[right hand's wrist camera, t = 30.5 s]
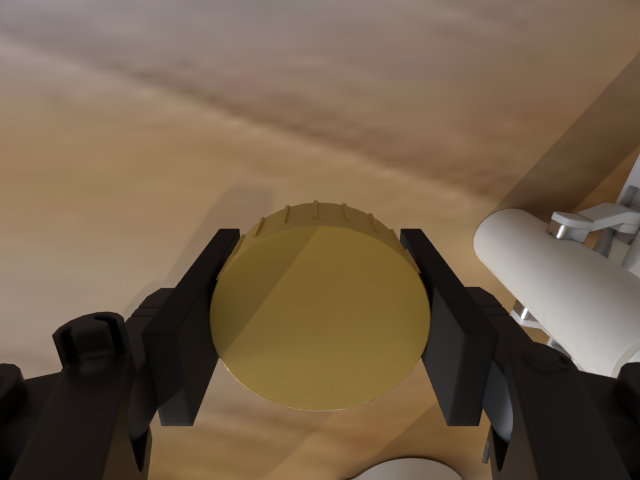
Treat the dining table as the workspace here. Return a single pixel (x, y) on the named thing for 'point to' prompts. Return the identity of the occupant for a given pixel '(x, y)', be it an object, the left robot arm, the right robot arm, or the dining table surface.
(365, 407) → the dining table surface
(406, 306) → the lid
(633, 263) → the left robot arm
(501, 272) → the jar
